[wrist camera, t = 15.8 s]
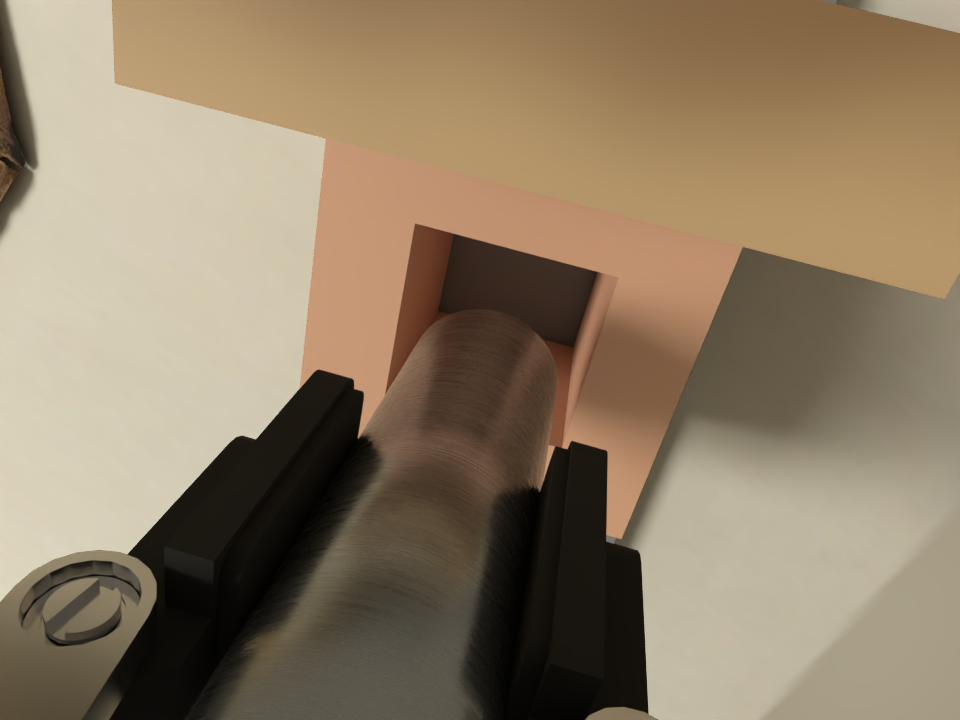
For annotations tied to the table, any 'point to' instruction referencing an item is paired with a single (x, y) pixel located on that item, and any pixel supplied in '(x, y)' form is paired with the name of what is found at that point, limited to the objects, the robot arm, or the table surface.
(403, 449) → the dowel
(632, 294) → the block
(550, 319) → the track
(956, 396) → the table surface
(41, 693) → the robot arm
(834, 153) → the block
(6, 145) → the wooden fragment
